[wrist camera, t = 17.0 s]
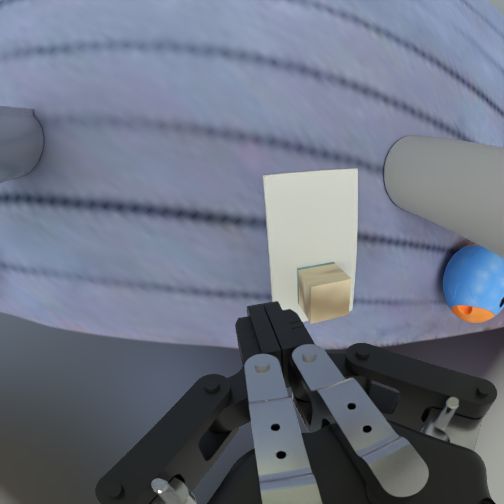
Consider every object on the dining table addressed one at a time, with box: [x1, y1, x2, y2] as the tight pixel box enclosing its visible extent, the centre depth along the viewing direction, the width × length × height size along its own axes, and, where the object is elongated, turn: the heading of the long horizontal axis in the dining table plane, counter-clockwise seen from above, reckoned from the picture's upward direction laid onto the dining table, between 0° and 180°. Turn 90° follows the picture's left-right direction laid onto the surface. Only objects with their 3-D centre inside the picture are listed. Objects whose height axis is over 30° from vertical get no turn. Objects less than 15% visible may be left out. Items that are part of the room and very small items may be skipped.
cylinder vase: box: [384, 136, 504, 258], centre depth 31 cm, size 12×12×25 cm
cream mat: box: [262, 168, 358, 322], centre depth 44 cm, size 24×14×1 cm, turn 5°
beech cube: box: [297, 262, 351, 324], centre depth 43 cm, size 6×6×6 cm
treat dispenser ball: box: [443, 243, 504, 323], centre depth 45 cm, size 16×15×15 cm
